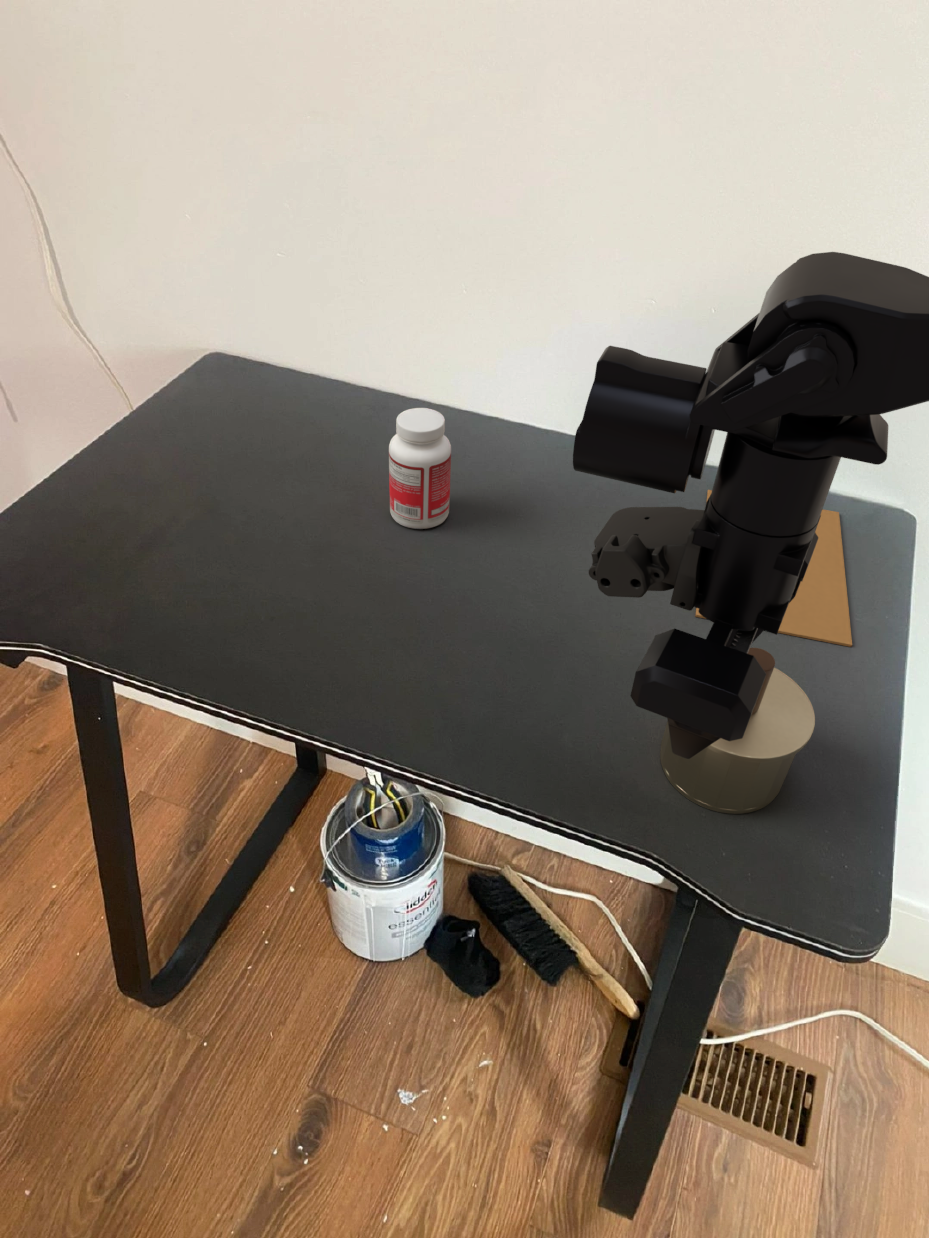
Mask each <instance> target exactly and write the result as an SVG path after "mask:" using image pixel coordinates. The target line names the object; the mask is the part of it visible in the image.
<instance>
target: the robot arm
mask: <svg viewBox="0 0 929 1238" xmlns="http://www.w3.org/2000/svg"><path fill="white" fill-rule="evenodd" d="M589 391H590V392H589V394H588V398H587V401H586V404H585V407H584V412H583V416H582V420H581V421H580V424H579V425H578V426H577V428H576V431H575V435H574V436H575V437H574V441H573V450H572V451H573V452H572V466H573V467H572V468H573V470H574V471H575V472H580V473H583V474H588V475H592V476H596V477H602V478H606V479H610V480H614V481H619V482H624V483H627V484H632V485H635V486H636V485H637V486H640V487H645V488H649V489H653V490H658V491H662V492H667V493H671V494H677V492H681V493H685V492H686V488H687V485H688V481H689V477H690V478H692V479H696V480H701V479H702V478H703V475H704V471H705V468H706V464H707V461H708V458H709V455H710V451H711V447H712V442H713V439H714V435H715V431H719V432H724V433H726V435H725V438H724V443H723V447H722V451H721V455H720V458H719V462H718V466H717V470H716V474H715V478H714V481H713V486H712V488H711V490H712V493H711V495H710V497H709V498H708V500H707V499H706V502H707V503H706V504H705V508H704V509H696V508H695V509H693V508H687V507H684V506H630V507H625V508H621V509H618V510H616V511H615V512H614V513H613V514H612V515H610V517H609V519H608V520H607V522H606V523H605V524H604V525H603V527H602V528H601V530H600V531H599V533H598V534H597V536H596V537H595V538H594V540H593V544H594V549H593V550H592V552H591V559H592V563H591V566H590V568H589V569H588V576H589V577H590V578H591V579H592V580H594V581H596V583H597V588H598V590H599V591H600V592H601V593H602V594H604V595H605V596H607V597H614V598H615V597H616V598H642V597H644V596H645V595H646V594H647V593H648V592H667V591H671V590H672V594H671V598H670V603H669V605H672V606H674V607H677V608H680V609H683V610H685V611H689V612H691V611H692V610H693V609H694V608H695V609H696V608H699V613H700V614H701V615H702V616H703V617H705V618H706V619H705V620H708V621H709V622H712V624H711V628H710V630H709V632H708V633H707V636H706V638H703V637H701V636H698V635H694V634H692V633H689V632H686V631H683V630H680V629H677V628H672V629H669V630H666V631H664V632H663V631H662V632H661V633H658V634H655V636H654V638H653V640H652V642H651V643H650V645H649V647H648V649H647V650H646V653H645V654H644V656H643V658H642V659H641V662H640V663H639V665H638V668H637V669H636V671H635V674H634V678H633V683H632V687H631V692H630V698H631V700H632V701H633V703H634V704H635V706H636V707H638V708H640V709H643V710H646V711H649V712H651V713H652V714H653V713H654V714H657V715H659V716H662V717H664V718H666V719H667V721H668V726H669V733H670V740H671V747H672V752H673V753H674V754H675V755H678V756H680V757H683V758H686V759H690V758H692V757H693V756H695V755H696V754H698V753H699V752H701V751H702V750H703V749H705V748H706V747H708V746H709V745H711V744H712V743H714V742H716V741H717V740H719V739H720V738H722V739H724V740H727V741H733V740H737V739H742V738H743V736H744V733H745V730H746V728H747V725H748V723H749V720H750V717H751V715H752V712H753V709H754V707H755V704H756V701H757V699H758V696H759V693H760V691H761V688H762V685H763V682H764V680H765V677H766V673H765V671H764V670H763V668H762V667H761V665H760V664H759V663H758V661H757V660H756V658H755V657H754V656H753V655H750V654H748V651H749V649H750V648H751V646H752V644H753V643H754V641H756V640H757V639H758V637H759V636H760V635H761V634H762V633H763V632H768V633H771V634H773V635H778V634H779V633H778V630H779V628H780V625H781V623H782V620H783V617H784V615H785V612H786V610H787V607H788V605H789V603H790V602H791V601H792V600H793V599H794V597H795V596H796V593H797V590H798V588H799V585H800V583H801V581H803V578H804V576H805V573H806V570H807V568H808V565H809V563H810V560H811V557H812V554H813V552H814V549H815V546H816V543H817V541H818V536H817V534H816V533H815V531H816V528H817V525H818V523H819V520H820V517H821V515H820V514H821V512H822V509H823V510H824V506H825V503H826V501H827V497H828V495H829V492H830V490H831V487H832V483H833V482H834V478H835V475H836V473H837V470H838V468H839V464H840V462H841V458H842V459H848V460H852V461H857V462H861V463H866V464H871V465H876V466H877V465H882V464H884V463H885V462H886V461H887V458H888V446H889V423H888V422H887V421H886V419H884V417H883V416H882V415H884V414H887V413H890V412H894V411H898V410H901V409H905V408H909V407H912V406H916V405H920V404H923V403H927V402H929V276H928V275H925V274H922V273H921V272H918V271H915V270H913V269H910V268H908V267H906V266H901V265H898V264H892V263H888V262H884V261H880V260H875V259H871V258H867V257H862V256H858V255H855V254H854V255H853V254H849V253H844V252H838V251H828V252H827V251H826V252H817V253H810V254H808V255H805V256H803V257H799V258H798V259H797V260H796V261H795V262H794V263H792V264H791V265H789V266H788V267H787V268H786V269H785V270H783V271H782V272H780V274H778V275H777V276H776V277H775V279H774V280H773V282H772V283H771V285H770V286H769V288H767V290H766V292H765V296H764V298H763V301H762V304H761V307H760V311H759V312H758V313H757V314H756V315H755V316H753V317H752V318H750V319H749V320H748V321H747V322H746V323H745V324H744V325H743V326H741V327H740V328H739V329H738V330H736V331H735V332H734V333H733V334H731V335H730V336H729V337H728V338H726V339H725V340H724V341H723V342H722V343H720V344H719V345H718V346H717V347H716V348H715V349H714V351H713V354H712V356H711V359H710V361H709V364H708V366H707V368H706V367H702V366H698V365H693V364H687V363H683V362H677V361H672V360H667V359H661V358H656V357H651V356H648V355H643V354H642V353H639V352H637V351H635V350H633V349H628V348H625V347H619V346H615V345H608V346H607V347H605V349H604V350H603V351H602V353H601V355H600V357H599V358H598V360H597V361H596V366H595V373H594V379H593V383H592V385H591V389H590V390H589Z"/></svg>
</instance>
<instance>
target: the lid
mask: <svg viewBox="0 0 929 1238" xmlns="http://www.w3.org/2000/svg"><path fill="white" fill-rule="evenodd" d="M748 654H750V655H753V656H754V657H755V658H756V660H757V661H758V663H759V664H760V665H761V667H762V668H763V670H764V671H765V673H766V677H765V680H764V682H763V685H762V688H761V691H760V693H759V696H758V699H757V701H756V704H755V707H754V709H753V712H752V715H751V717H750V720H749V723H748V725H747V728H746V730H745V733H744V736H743V738H742V739H737V740H733V741H727V740H724V739H722V738H720V739H719V740H717V741H716V742H714V743H712V744H711V745H709V746H708V747H707V748H708V749H710V750H712V751H714V752H716V753H718V754H721V755H723V756H726V757H729V758H733V759H736V760H741V761H747V762H773V761H778V760H782V759H786V758H788V757H790V756H793V755H794V754H798V753H799V752H801V751H802V750H803V749H804V748H805V747H806V746H807V744H808V743H809V741H810V739H811V737H812V735H813V733H814V730H815V726H816V716H815V710H814V706H813V704H812V702H811V700H810V698H809V697H808V695H807V694H806V692H805V691H804V690H803V689H802V688H801V686H800V685H799V684H798V683H797V682H796V681H795V680H794V679H792V678H791V677H790V676H788V675H787V674H786V673H784V672H783V671H781V670H780V669H778V668H777V667H775V666H776V660H775V657H774V656H773V655H772V654H771V653H770V652H768V651H767V650H765V649H763V648H760V647H750V649H749V651H748Z"/></svg>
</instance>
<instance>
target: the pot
mask: <svg viewBox="0 0 929 1238" xmlns="http://www.w3.org/2000/svg"><path fill="white" fill-rule="evenodd" d="M659 750H660V752H659V759H660V765H661V768H662V772H663V773H664V775H665V777H666V778H667V781H668V782H669V783H670V784H671V786H672V787H673V788H674V789H675V790H676V791H677V792H678V793H679V794H681V796H683V797H684V798H686V799H687V800H689V801H690V802H692V803H693V804H695V805H698V806H699V807H702V808H703V809H707V810H710V811H713V812H717V813H721V814H730V815H740V814H741V815H742V814H749V813H752V812H756V811H759V810H761V809H764V808H765V807H767V806H769V805H770V804H771V803H772V802H773V801H774V800H775V799H776V797H777V796H778V795H779V794H780V792H781V789H782V787H783V785H784V782H785V780H786V778H787V776H788V773H789V771H790V769H791V766H792V764H793V761H794V759H795V758H796V754H797V753H796V754H794V755H793V756H790V757H788V758H786V759H782V760H778V761H773V762H747V761H741V760H736V759H733V758H729V757H726V756H723V755H721V754H718V753H716V752H714V751H712V750H710V749H708V748H707V747H706V748H705V749H703V750H702V751H701V752H699V753H698V754H696V755H695V756H693V757H692V758H690V759H686V758H683V757H680V756H678V755H675V754H674V753H673V752H672V747H671V740H670V733H669V726H668V720H667V721H666V724H665V728H664V732H663V734H662V739H661V742H660V749H659Z"/></svg>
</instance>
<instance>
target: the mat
mask: <svg viewBox="0 0 929 1238" xmlns="http://www.w3.org/2000/svg"><path fill="white" fill-rule="evenodd" d="M711 493H712V489H707V494H706V503H707V500H708V498H709V497H710V495H711ZM820 515H821V517H820V520H819V523H818V525H817V528H816V531H815V533H816V534H817V536H818V541H817V543H816V546H815V549H814V552H813V554H812V557H811V560H810V563H809V565H808V568H807V570H806V573H805V576H804V578H803V581H801V583H800V585H799V588H798V590H797V593H796V596H795V597H794V599H793V600H792V601H791V602H790V603H789V605H788V607H787V610H786V612H785V615H784V617H783V620H782V623H781V625H780V628H779V630H778V633H777V634H782V635H787V636H792V637H797V638H802V639H806V640H807V639H808V640H812V641H818V642H823V643H829V644H833V645H837V646H842V647H843V646H844V647H849V648H852V646H853V638H852V629H851V620H850V619H851V618H850V609H849V599H848V589H847V579H846V569H845V560H844V559H845V558H844V557H845V556H844V547H843V540H842V538H843V537H842V528H841V519H840V512H839V511H835V510H828V509H824V508H823V509H822V512H821V514H820ZM694 617H695V618H700V619H705V620H707V619H706V618H705V617H703V616H702V615H701V614H700V613H699V608H696V607H695V615H694Z"/></svg>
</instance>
